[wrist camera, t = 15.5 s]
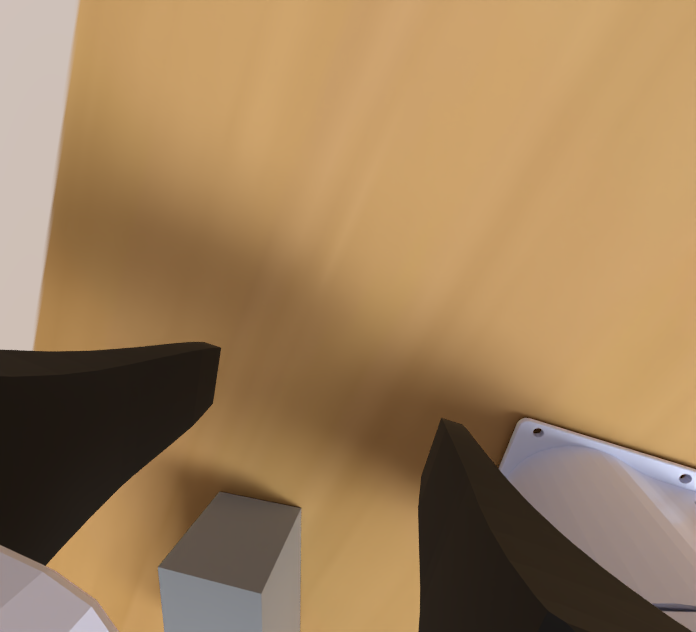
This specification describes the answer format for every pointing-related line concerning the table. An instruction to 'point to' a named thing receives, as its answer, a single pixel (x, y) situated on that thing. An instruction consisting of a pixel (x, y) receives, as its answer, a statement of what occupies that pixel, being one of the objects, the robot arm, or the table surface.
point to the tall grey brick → (235, 569)
